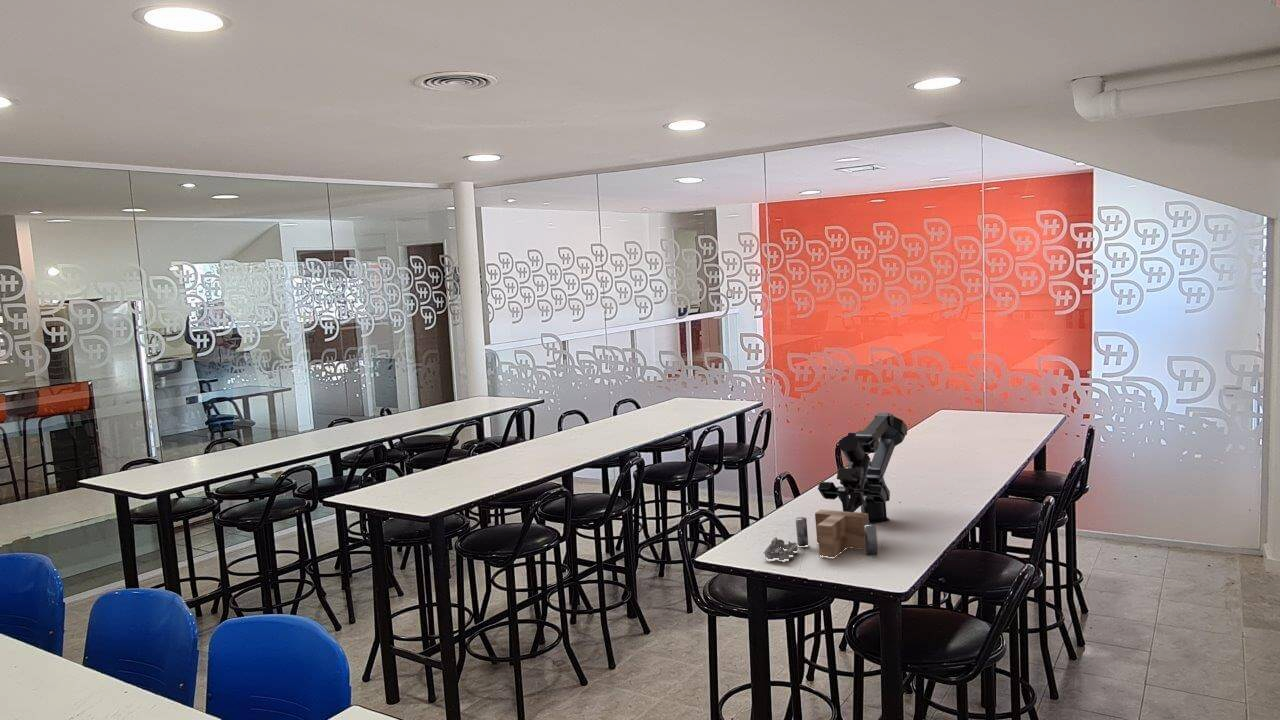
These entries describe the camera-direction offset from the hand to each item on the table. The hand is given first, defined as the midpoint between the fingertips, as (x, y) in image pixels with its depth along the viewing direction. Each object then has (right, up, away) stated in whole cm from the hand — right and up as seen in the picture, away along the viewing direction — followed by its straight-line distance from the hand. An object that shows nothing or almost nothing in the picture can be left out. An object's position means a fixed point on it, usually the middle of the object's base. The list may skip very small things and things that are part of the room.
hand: (845, 518), depth 240 cm
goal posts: (-4, -8, -6) cm, 10 cm away
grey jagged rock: (-19, -10, -6) cm, 22 cm away
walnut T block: (-4, -8, -6) cm, 10 cm away
